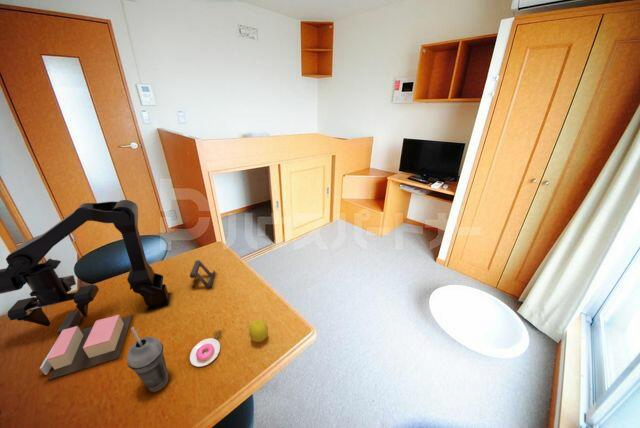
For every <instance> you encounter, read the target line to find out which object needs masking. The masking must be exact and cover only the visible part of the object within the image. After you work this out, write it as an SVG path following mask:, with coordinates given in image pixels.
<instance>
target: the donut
mask: <svg viewBox="0 0 640 428" xmlns="http://www.w3.org/2000/svg"><path fill="white" fill-rule="evenodd" d="M219 332H220V331H219ZM219 332H218V333H217V336H215V338H213V337H210V338H205V339H202V340H201V341H199V342H198V343H196V344H195V346H193V348H192V349H191V352H190V354H189V362H190V364H191V365H192V366H194V367H198V368H201V367H204V366H207V365H210V364H211V363H212V362H213V361H214V360H215V359H217V357H218V355H219V353H220V350H221V343H220V342H219V341H218V336H219Z"/></svg>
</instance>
